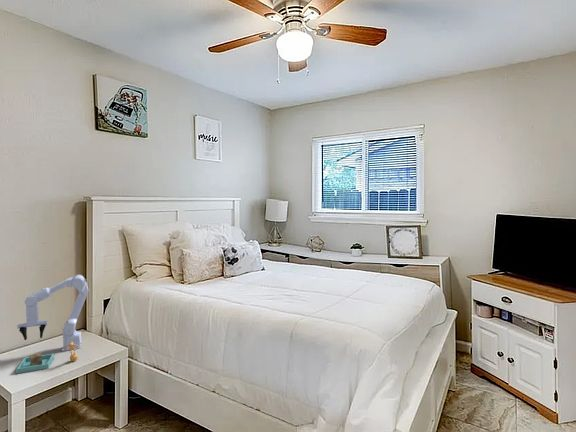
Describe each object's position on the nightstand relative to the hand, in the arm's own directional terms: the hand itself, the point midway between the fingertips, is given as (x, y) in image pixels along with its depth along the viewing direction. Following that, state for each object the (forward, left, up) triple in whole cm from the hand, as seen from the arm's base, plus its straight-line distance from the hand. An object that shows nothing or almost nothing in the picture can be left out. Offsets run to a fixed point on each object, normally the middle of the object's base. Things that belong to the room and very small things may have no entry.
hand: (33, 338), depth 208 cm
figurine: (-23, +20, -10) cm, 32 cm away
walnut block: (-5, +17, -9) cm, 20 cm away
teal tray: (-5, +17, -9) cm, 20 cm away
